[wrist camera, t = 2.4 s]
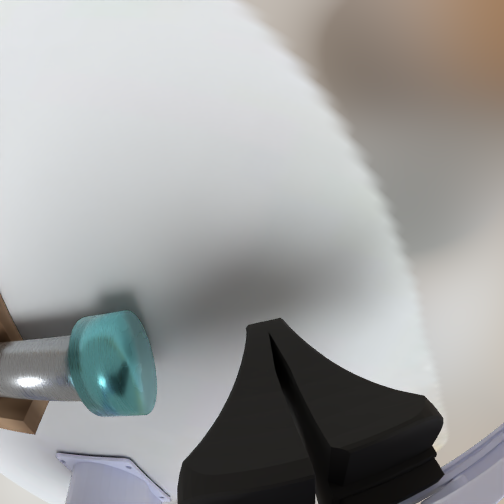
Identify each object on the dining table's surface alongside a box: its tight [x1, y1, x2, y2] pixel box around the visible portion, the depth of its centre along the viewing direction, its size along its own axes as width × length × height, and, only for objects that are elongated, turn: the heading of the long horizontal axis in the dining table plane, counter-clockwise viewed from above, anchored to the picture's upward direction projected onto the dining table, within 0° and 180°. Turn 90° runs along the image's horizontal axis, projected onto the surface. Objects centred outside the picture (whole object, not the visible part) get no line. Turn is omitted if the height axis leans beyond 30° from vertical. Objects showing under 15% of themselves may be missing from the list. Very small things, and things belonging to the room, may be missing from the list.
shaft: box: [0, 310, 157, 416], centre depth 10 cm, size 14×4×4 cm, turn 99°
